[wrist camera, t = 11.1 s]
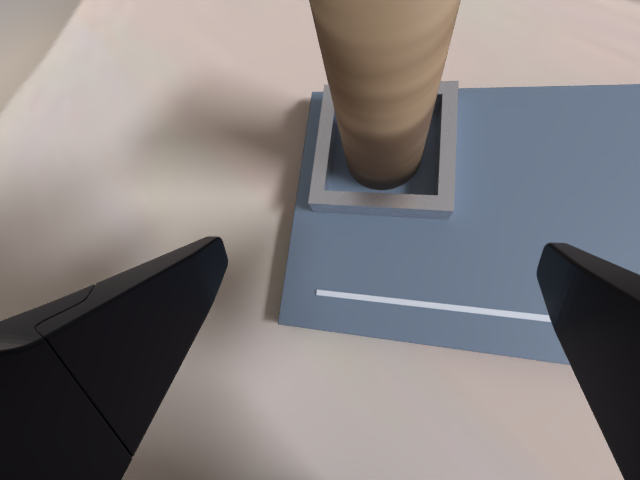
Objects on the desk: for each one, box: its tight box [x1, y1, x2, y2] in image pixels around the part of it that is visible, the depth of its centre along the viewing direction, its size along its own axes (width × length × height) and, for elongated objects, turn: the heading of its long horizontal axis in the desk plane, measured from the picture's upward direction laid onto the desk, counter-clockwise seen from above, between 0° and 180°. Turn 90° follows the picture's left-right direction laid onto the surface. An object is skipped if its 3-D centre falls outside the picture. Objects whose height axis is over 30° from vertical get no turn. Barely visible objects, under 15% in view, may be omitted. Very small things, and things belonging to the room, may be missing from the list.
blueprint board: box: [278, 84, 640, 365], centre depth 18 cm, size 15×22×1 cm
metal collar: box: [308, 81, 458, 220], centre depth 19 cm, size 8×8×2 cm
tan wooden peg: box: [309, 0, 461, 190], centre depth 14 cm, size 4×4×12 cm
